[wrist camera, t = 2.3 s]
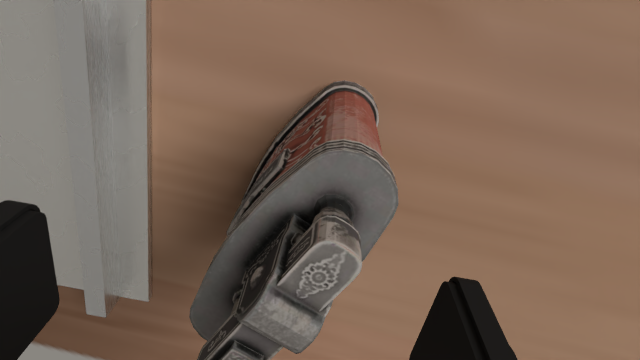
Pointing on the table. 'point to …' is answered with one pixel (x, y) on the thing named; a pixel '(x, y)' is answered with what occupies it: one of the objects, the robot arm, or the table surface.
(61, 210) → the track
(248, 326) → the lighter
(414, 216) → the table surface
